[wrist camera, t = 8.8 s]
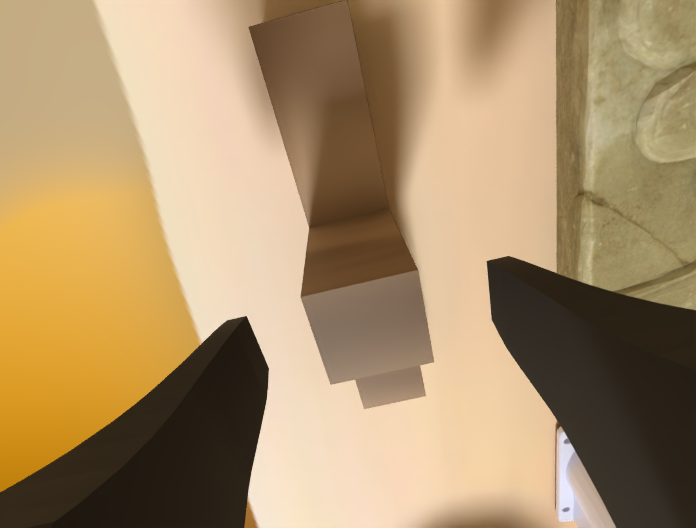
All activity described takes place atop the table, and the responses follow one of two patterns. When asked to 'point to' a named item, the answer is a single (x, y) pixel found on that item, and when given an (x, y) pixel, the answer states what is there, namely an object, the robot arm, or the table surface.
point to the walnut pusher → (344, 209)
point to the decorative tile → (627, 147)
